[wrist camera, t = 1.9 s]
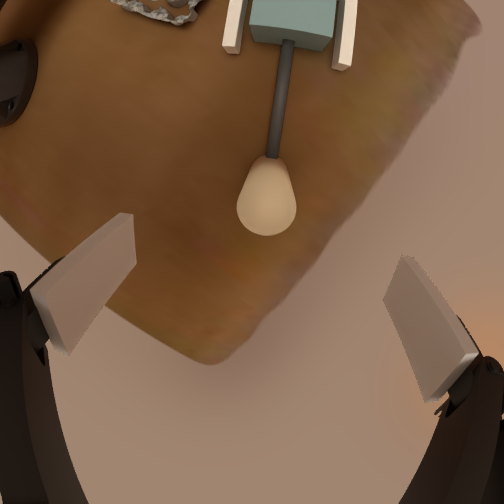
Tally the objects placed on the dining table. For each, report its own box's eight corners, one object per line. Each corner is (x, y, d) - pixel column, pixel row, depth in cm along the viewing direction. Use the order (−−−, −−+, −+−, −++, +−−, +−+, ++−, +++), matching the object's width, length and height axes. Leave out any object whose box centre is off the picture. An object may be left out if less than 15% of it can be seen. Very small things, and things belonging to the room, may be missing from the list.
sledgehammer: (234, 185, 30) (212, 228, 19) (262, -9, 19) (255, -66, 8) (297, 194, 30) (311, 242, 19) (326, 1, 19) (353, -50, 8)
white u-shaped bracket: (227, 53, 23) (222, 45, 20) (241, -21, 18) (237, -35, 15) (342, 71, 23) (350, 65, 20) (350, -4, 18) (358, -16, 15)
